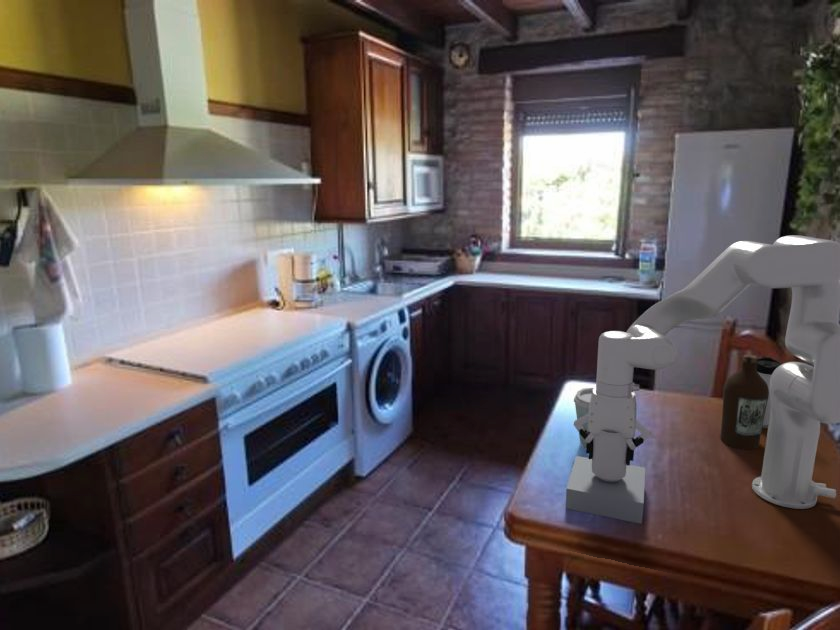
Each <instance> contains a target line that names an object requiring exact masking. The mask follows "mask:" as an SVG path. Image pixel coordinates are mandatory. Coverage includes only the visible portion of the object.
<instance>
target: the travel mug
mask: <svg viewBox="0 0 840 630" xmlns="http://www.w3.org/2000/svg"><path fill="white" fill-rule="evenodd" d="M756 361H757V366H756V371H757V372H758V374H759V375H760V376H761V377H762V378H763V379H764V380H765V382H766V383H767V385H768V389H769V387H770V378H771V376H772V373H773V372H774V370H775V369H776V368H777V367H779V366H780V365H782V364H781V362H780V361H778V360H776V359H773V357H771V356H770V357H769V356H768V357H767V356H765V357H760V358H757V360H756ZM770 407H771V404H770V389H769V396H768V401H767V406H766V411H765V415H764V420H763V425H762V429H768V426H769V419H770Z"/></svg>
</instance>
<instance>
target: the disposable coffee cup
mask: <svg viewBox="0 0 840 630" xmlns="http://www.w3.org/2000/svg"><path fill="white" fill-rule="evenodd" d="M594 388H595V387H585V388H582V389H580V390H578V391H577V392H576V394H575V396H574V398H573V402H574V406H575V413H576V420H577V419H579V418H581V417H583V416H585V415H587V414H589V406H590V400H591V395H592V391H593V389H594ZM582 426H583V428H585V429H586V430H587V431H588V422H586V423H584V424H582ZM588 432H589V431H588ZM578 434H579V433H578ZM578 437H579V442H580V444H581V446H583V448H586V444H587V443H586V442H585V439H584V438H583V437H582V436H581V435H580V434H579V436H578Z"/></svg>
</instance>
